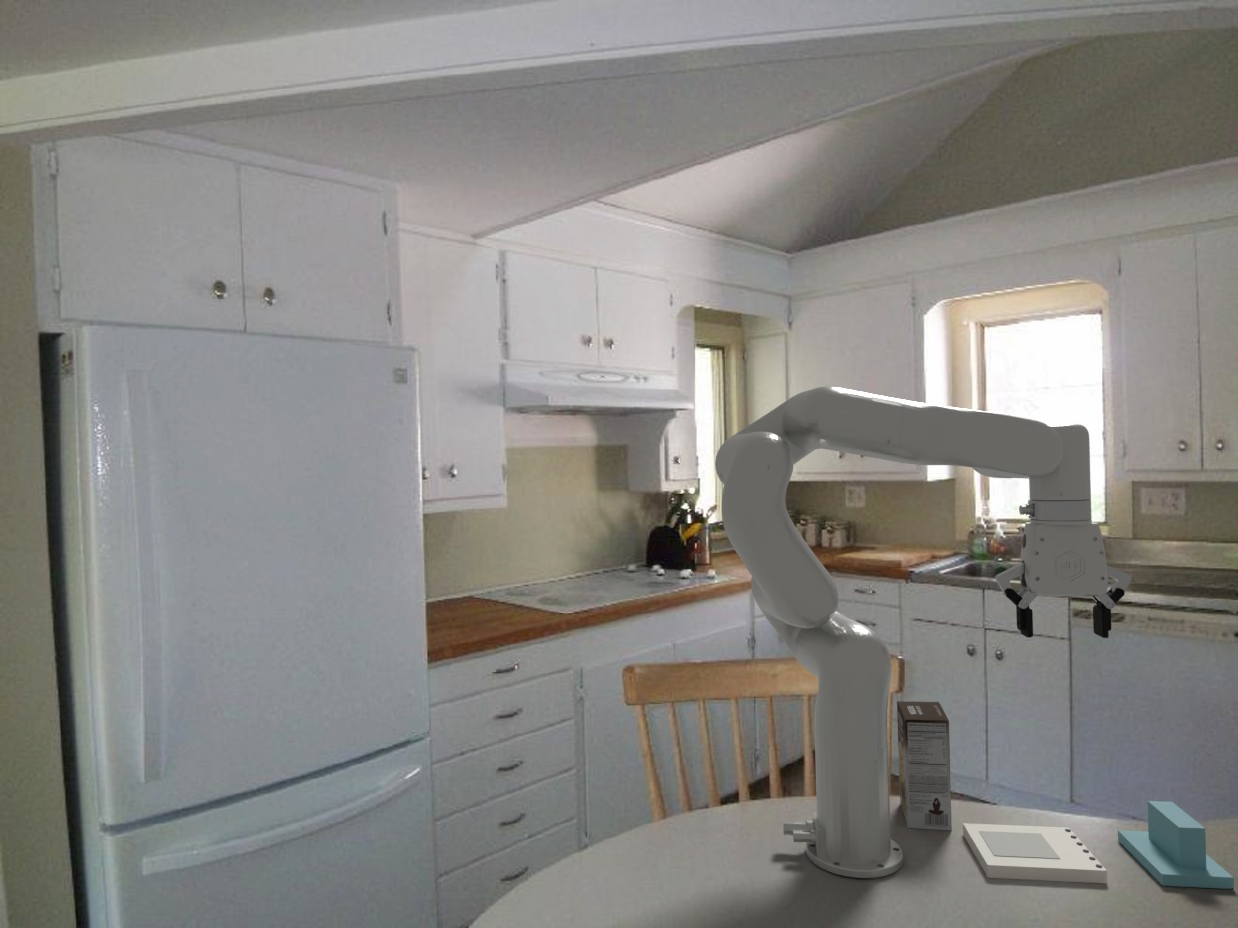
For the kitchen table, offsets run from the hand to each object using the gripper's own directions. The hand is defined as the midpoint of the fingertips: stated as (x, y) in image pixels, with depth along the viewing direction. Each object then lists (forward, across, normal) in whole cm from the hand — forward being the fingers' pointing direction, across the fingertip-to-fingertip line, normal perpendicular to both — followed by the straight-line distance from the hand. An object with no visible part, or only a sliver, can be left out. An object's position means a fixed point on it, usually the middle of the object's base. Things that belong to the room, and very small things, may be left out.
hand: (1063, 635), depth 113 cm
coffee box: (+28, -18, +6) cm, 34 cm away
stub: (+28, +10, -6) cm, 31 cm away
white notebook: (+28, -7, -6) cm, 30 cm away
